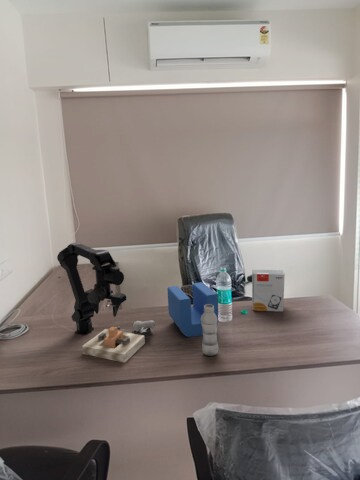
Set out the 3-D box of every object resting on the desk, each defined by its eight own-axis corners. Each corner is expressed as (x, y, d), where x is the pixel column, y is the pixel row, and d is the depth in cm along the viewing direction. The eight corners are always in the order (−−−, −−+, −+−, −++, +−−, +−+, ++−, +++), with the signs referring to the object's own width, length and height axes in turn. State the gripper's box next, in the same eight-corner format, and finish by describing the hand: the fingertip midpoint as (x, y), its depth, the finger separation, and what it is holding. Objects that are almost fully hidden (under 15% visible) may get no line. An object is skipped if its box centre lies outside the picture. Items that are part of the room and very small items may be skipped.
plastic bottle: (214, 359, 129) (213, 310, 125) (198, 355, 132) (197, 307, 128) (221, 351, 134) (220, 304, 130) (206, 347, 137) (205, 301, 134)
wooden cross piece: (104, 349, 137) (102, 332, 136) (115, 339, 144) (114, 323, 143) (113, 351, 136) (111, 333, 134) (123, 341, 143) (122, 324, 141)
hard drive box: (252, 311, 171) (252, 273, 167) (251, 305, 179) (251, 269, 175) (284, 311, 169) (284, 274, 165) (282, 306, 176) (282, 269, 172)
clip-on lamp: (114, 346, 148) (152, 339, 144) (109, 334, 147) (147, 327, 143) (122, 331, 159) (157, 325, 156) (118, 320, 158) (153, 313, 154)
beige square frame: (83, 353, 137) (81, 341, 136) (106, 336, 151) (105, 325, 150) (124, 362, 129) (123, 350, 128) (145, 343, 144) (144, 331, 142)
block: (203, 316, 168) (202, 281, 164) (218, 331, 151) (217, 293, 148) (169, 322, 163) (167, 287, 159) (181, 339, 146) (179, 300, 142)
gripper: (72, 284, 138) (76, 319, 141) (110, 289, 130) (113, 326, 133) (89, 276, 148) (92, 309, 151) (125, 280, 140) (128, 315, 143)
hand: (105, 315), depth 144 cm, fingers open, 9 cm apart
